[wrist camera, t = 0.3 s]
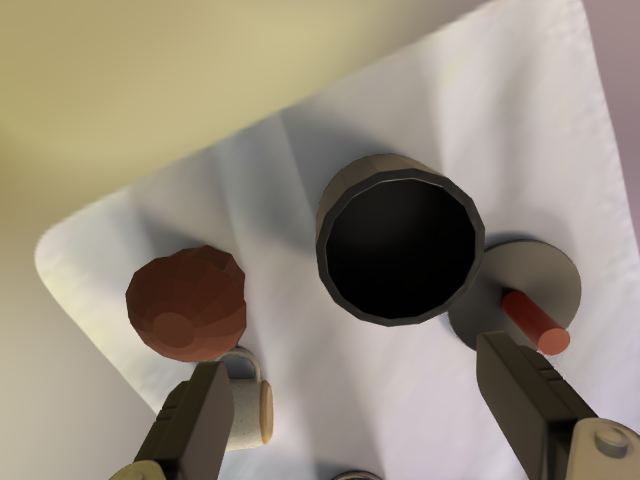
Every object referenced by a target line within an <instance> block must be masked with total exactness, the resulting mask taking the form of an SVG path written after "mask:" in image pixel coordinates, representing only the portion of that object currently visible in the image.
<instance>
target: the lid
mask: <svg viewBox="0 0 640 480" xmlns="http://www.w3.org/2000/svg"><path fill="white" fill-rule="evenodd" d="M581 289H582V288H581V280H580V276H579V273H578V271H577V269H576V267H575V265H574V264H573V262H572V261H571V260H570V258H569V257H568V256H567V255H566V254H564V253H563V252H562V251H560V250H559V249H557V248H555V247H553V246H552V245H549V244H547V243H544V242H540V241H536V240H513V241H507V242H503V243H500V244H497V245H494V246H492V247H490V248H488V249H486V250H484V261H483V263H482V265H481V267H480V269H479V272H478V274H477V276H476V278H475V280H474V282H473V285H472V287H471V289H470V290H469V291H468V292H467V293H466V294H465V295H464V296H463V297H462V298H461V299H460V300H459V301H458V302H457V303H455V304H454V305H453V306H452V307H451V308H450V309H449V310H448V317H449V321H450V324H451V326H452V328H453V330H454V332H455V333H456V335H457V336H458V338H459V339H460V340H461V341H462V342H463V343H464V344H465V345H466V346H468V347H469V348H471V349H472V350H474V351H476V352H477V335H478V334H479V333H484V332H493V331H506V332H507V333H508V335H509V336H510V337H511V338H512V339H513V341H514V342H515V343H516V344H517V345H518V346H522V345H526V346H528V347H530V348H532V349H533V350H535V351H537V350H539V351H540V352H541V353H543V354H545V355H556V354H559V353H561V352H562V351H564V350H565V349H566V348H567V346H568V345H569V342H570V336H569V334H568V332H567V331H566V330H565V329H566V328H567V327H568V326H569V324H570V323H571V321H572V320H573V318H574V316H575V314H576V312H577V310H578V307H579V304H580V299H581Z"/></svg>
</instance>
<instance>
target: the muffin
mask: <svg viewBox="0 0 640 480" xmlns="http://www.w3.org/2000/svg"><path fill="white" fill-rule="evenodd" d="M244 282H245V274H244V272H243V271H242V270H241V269H240V268H239V266H238V265H237V263H236V262H235V260H234V258H233V256H232V255H231V254H229V253H225V252H222V251H219V250H217V249H215V248H213V247H211V246H209V245H204V246H201V247H197V248H191V249H183V250H181V251H179V252H177V253H175V254H173V255H171V256H169V257H162V258H155V259H154V260H152V261H151V262H149V263H148V264H146V265H145V266H143V267H142V268H141V269H139V270H138V271H136V272H135V273H134V275H133V278H132V280H131V282H130V284H129V287H128V289H127V291H126V294H125V295H126V303H127V310H128V318H129V319H130V323H131V324H132V326H133V328H134V329H135V330H136V332H137V333H138V335H139V336H140V338H141V339H142V341H143V342H144V343H145V344H146V345H147V346H149V347H150V348H152V349H153V350H155V351H156V352H157V353H159V354H160V355H162V356H164V357H167V358H171V359H174V360H178V361H182V362H197V361H208V360H212V359H216V358H217V357H219V356H221V355H222V354H224V353H226V352H227V351H229V350H231V349H232V348H234V347H236V345H237V343H238V341H239V340H240V338H241V336H242V334H243V333H244V331H245V329H246V327H247V324H246V302H245V300H244Z"/></svg>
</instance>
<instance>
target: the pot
mask: <svg viewBox="0 0 640 480" xmlns="http://www.w3.org/2000/svg"><path fill="white" fill-rule="evenodd" d="M484 243H485V227H484V225H483V222H482V220H481V218H480V215H479V213H478V211H477V208H476V206H475V204H474V202H473V200H472V198H470V197H469V196H468V195H467V194H466V193H465V192H464V191H462V190H461V189H460V188H459V187H458V186H457V185H455V184H454V183H453V182H452V181H451V180H450V179H449V178H447V177H445V176H443V175H442V174H440V173H438V172H436V171H434V170H432V169H431V168H429V167H427V166H425V165H423V164H422V163H420V162H418V161H415V160H412V159H409V158H406V157H403V156H399V155H395V154H377V155H372V156H366V157H363V158H361V159H359V160H357V161H355V162H352V163H351V164H349V165H348V166H346V167H345V168H343V169H341V170H340V171H339V172H338V173H337V175H336V176H335V177H334V178H333V179H332V180H331V181H330V183H329V184H328V186H327V187H326V188H325V190H324V191H323V195H322V198H321V201H320V204H319V208H318V212H317V216H316V255H317V263H318V271H319V277H320V279H321V281H322V282H323V284H324V286H325V287H326V289H327V290H328V292H329V294H330V295H331V297H332V299H333V300H334V302H335V303H337V304H338V305H339V306H341V307H342V308H344V309H345V310H346V311H348V312H349V313H351V314H352V315H353V316H355V317H356V318H358V319H359V320H363V321H367V322H371V323H374V324H378V325H382V326H386V327H394V326H404V325H414V324H420V323H422V322H425V321H427V320H429V319H431V318H433V317H435V316H438V315H440V314H442V313H444V312H446V311H448V310H449V309H450V308H451V307H452V306H453V305H454V304H455V303H457V302H458V301H459V300H460V299H461V298H462V297H463V296H464V295H465V294H466V293H467V292H468V291H469V290H470V289H471V287H472V285H473V282H474V280H475V278H476V276H477V274H478V272H479V269H480V267H481V265H482V263H483V261H484Z"/></svg>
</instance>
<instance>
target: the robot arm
mask: <svg viewBox="0 0 640 480" xmlns="http://www.w3.org/2000/svg"><path fill="white" fill-rule="evenodd" d="M476 376H477V382H478V387H479V390H480V392H481V395H482V397H483V398H484V400H485V402H486V404H487V405H488V407H489V409H490V411H491V412H492V414H493V416H494V418H495V419H496V421H497V423H498V425H499V427H500V428H501V430H502V432H503V434H504V435H505V437H506V439H507V441H508V442H509V444H510V446H511V448H512V449H513V451H514V453H515V455H516V456H517V458H518V460H519V462H520V463H521V465H522V467H523V469H524V471H525V472H526V474H527V476H528V478H529V479H530V480H640V436H639V435H638V434H637V433H636V432H634V431H633V430H631V429H630V428H628V427H626V426H624V425H622V424H620V423H617V422H615V421H612V420H608V419H603V418H599V417H598V416H597V414H596V413H595V412H594V411H593V410H592V409H591V408H590V407H589V406H588V405H587V403H586V402H585V401H584V400H583V399H582V398H581V397H580V396H579V395H578V394H577V392H576V391H575V390H574V389H573V388H572V387H571V386H570V385H569V384H568V383H567V381H566V380H563V377H562V376H561V375H560V374H559V373H558V372H557V370H556V369H555V370H554V368H553V366H552V365H551V364H550V363H549V362H548V361H547V359H546V358H545V357H544V356H543V355H542V354H540V353H538V352H537V351H535V350H533V349H532V348H530V347H528V346H526V345H522V346H518V345H517V344H516V343H515V342H514V341H513V339H512V338H511V337H510V336H509V335H508V333H507V332H506V331H493V332H484V333H479V334H478V335H477V363H476ZM234 410H235V408H234V399H233V394H232V390H231V386H230V382H229V378H228V374H227V370H226V366H225V363H224V362H223V361H214V362H204V363H199V364H198V365H197V366H196V368H195V370H194V372H193V374H192V376H191V379H190V381H182V382H181V383H180V384H179V385H178V386H177V387H176V388H175V389H174V390H173V391H172V392H171V393H170V394H169V395H168V397H167V399H166V401H165V403H164V405H163V407H162V410H160V412H159V414H158V416H157V418H156V422H154V423H153V425H152V427H151V429H150V431H149V433H148V435H147V437H146V439H145V441H144V443H143V444H142V446H141V448H140V450H139V452H138V454H137V456H136V457H135V459H134V462H133V463H132V464H129V465H128V466H126V467H124V468H122V469H121V470H119V471H118V472H117V473H115V474H114V475H113V476H112V477H111V478H110V479H109V480H217V478H218V474H219V471H220V467H221V464H222V460H223V456H224V453H225V449H226V446H227V442H228V438H229V435H230V431H231V428H232V424H233V420H234ZM332 480H382V479H380V478H379V477H377V476H375V475H373V474H370V473H366V472H349V473H345V474H342V475H339V476H337V477H335V478H334V479H332Z"/></svg>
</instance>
